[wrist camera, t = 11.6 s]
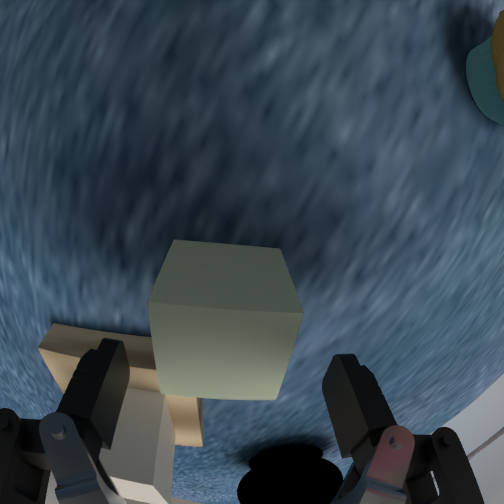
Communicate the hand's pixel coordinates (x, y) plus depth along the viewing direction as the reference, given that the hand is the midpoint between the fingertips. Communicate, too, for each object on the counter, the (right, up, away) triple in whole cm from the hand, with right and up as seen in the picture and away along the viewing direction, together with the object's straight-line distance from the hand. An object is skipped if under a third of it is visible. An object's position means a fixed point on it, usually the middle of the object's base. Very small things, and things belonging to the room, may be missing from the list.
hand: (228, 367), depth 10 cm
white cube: (-7, -6, +5) cm, 11 cm away
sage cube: (-1, +2, +4) cm, 5 cm away
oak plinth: (-8, -5, +8) cm, 12 cm away
